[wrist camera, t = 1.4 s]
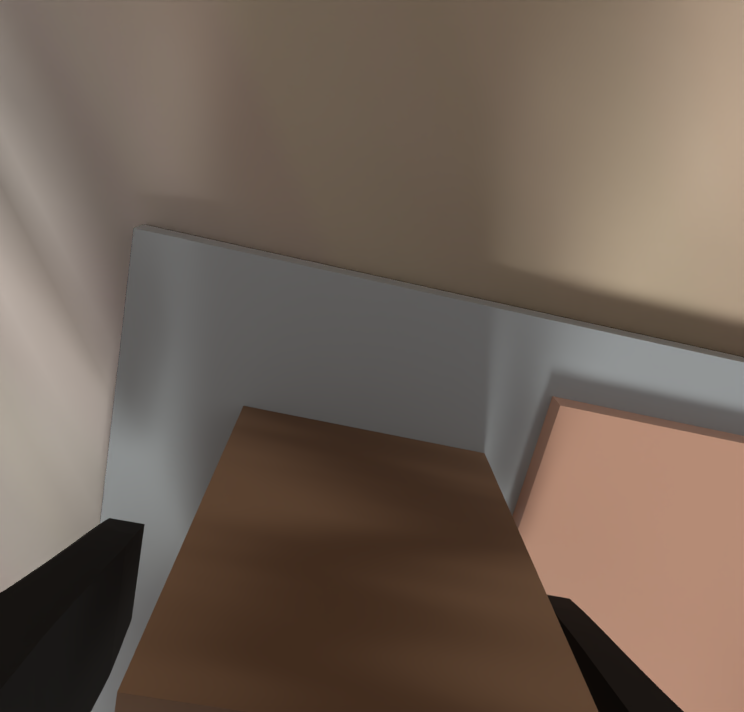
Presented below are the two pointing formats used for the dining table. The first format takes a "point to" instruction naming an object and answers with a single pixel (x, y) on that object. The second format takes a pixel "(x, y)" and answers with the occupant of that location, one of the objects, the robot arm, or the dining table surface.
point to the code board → (350, 378)
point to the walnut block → (351, 586)
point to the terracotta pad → (645, 542)
